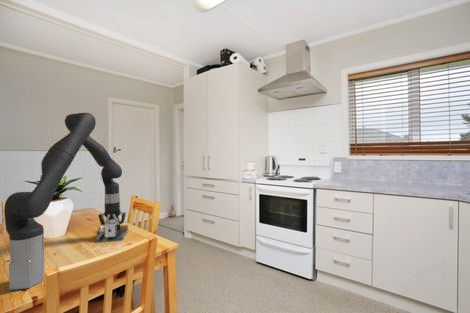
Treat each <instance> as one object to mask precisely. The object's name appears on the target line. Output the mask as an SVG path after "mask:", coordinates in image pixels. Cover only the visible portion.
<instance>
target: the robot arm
mask: <svg viewBox="0 0 470 313" xmlns="http://www.w3.org/2000/svg"><path fill="white" fill-rule="evenodd" d="M64 125H65V127H66V128H67V130H68V131H69V132H68V133H67V135H65V136H63V137H62V138H60V139H59V140H58V141H57V142H55V143H54V144H53V145H52V146H51V147H50V148H49V149H48V151H47V152H46V153H45V155H44V157H43V158H42V159H41V163H40V164H41V178H40V180H39V182H38V183H37V184H36V186H35V187H34V189H33V190H32V191H17V192H13V193H12V194H10V195H9V196H8V197H7V198H6V200H5V203H4V208H3V212H4V213H3V214H4V215H3V216H4V224H5V229H6V230H5V231H6V232H7V234H8V236H9V263H8V275H9V276H8V280H9V281H8V282H9V283H8V284H9V288H8V289H9V291H17V290H25V289H30V288H32V287H33V286H35V285H38V284H40V283H42V282H43V281H44V280H45V278H44V275H43V272H44V270H46V269H45V268H46V267H45V238H44V237H45V235H44V232H45V230H44V229H45V228H44V226H43V224H40V223H39V222H37V220H35V219H34V218H39V217H41V216H43V214H44V213H45V212H46V211H47V209H48V208H49V207H50V204H51V202H52V200H53V198H54V195H55V193H56V191H57V189H58V187H59V185H60V183H61V181H62V179H63V177H64V176H65V174H66V172H67V171H68V169H69V167H70V166H71V164H72V163H73V161H74V159H75V157H76V155H77V153H78V152H79V151H80V149H81V147H82V146H83V147H84V148H85V149H86V150H87V151H88V152H89V154H90V155H91V156H92V159H94V161H95V162H96V164H97V165H98V166H99V167H101V168H102V169H101V171H100V173H101V174H100V176H101V180H102V182H103V186H104V211H103V213H100V214H98V215H97V216H98V219H99V220H98V221H99V222H100V226H104V227H105V224H106V223H107V222H109V221H110V220H115V221H116V222H117V232H118V231H119V230H120V225H121V224H122V225H123V223H124V222H125V218H126V214H127V213H126V211H125V212H122V211H121V202H120V201H121V197H120V184H119V183H118V182H116V181H114V179H119V178H120V177H121V176H122V174H123V170H122V168H121V166H120V165H119V164H118V162H116V161H115V160H114V159H113V158H111V156H110V154H109V152H108V151H107V150H106V148H105V147H104V146H103V145H102V144H100V143H99V142H98V141H97V140H95V139H94V138H92V136H90V135H91V134H92V132H93V131H95V128H96V125H97V124H96V118H95V116H94V115H93V114H91V113H90V112H78V113H70V114H68V115H66V117H65V119H64ZM119 216H121V219H120V217H119ZM104 217H105V218H106V220H105V219H104ZM119 219H120V220H119Z"/></svg>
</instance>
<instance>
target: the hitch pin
mask: <svg viewBox="0 0 470 313" xmlns="http://www.w3.org/2000/svg"><path fill="white" fill-rule="evenodd" d="M97 231H98V233H99V235H100V234H101V233H102V232H103V231H104V229H103V226H98V227H97Z"/></svg>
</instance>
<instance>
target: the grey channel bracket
mask: <svg viewBox="0 0 470 313" xmlns="http://www.w3.org/2000/svg"><path fill="white" fill-rule="evenodd" d="M102 227H103V226H102ZM128 233H129V224H122V225H121V224H120V231H119V232H118V234H117V235H116V236H115V237H105V226H104V227H103V230H102V233H101V234H99V235H98V236H96V238H95V242H94V243H95V244H99V243H102V244H103V243H111V242H121V241H123V240H124V239H125V237H126V236H127V234H128Z"/></svg>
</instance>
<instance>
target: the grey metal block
mask: <svg viewBox="0 0 470 313" xmlns="http://www.w3.org/2000/svg"><path fill="white" fill-rule="evenodd" d="M119 220H120V221H121V219H120V218H119ZM104 227H105V237H115V236H116V235H117V234H118V232H119V231H120V230H119V231H118V232H117V222H116V221H115V220H110V221H109V222H107V223H106V224H105V226H104Z"/></svg>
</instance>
